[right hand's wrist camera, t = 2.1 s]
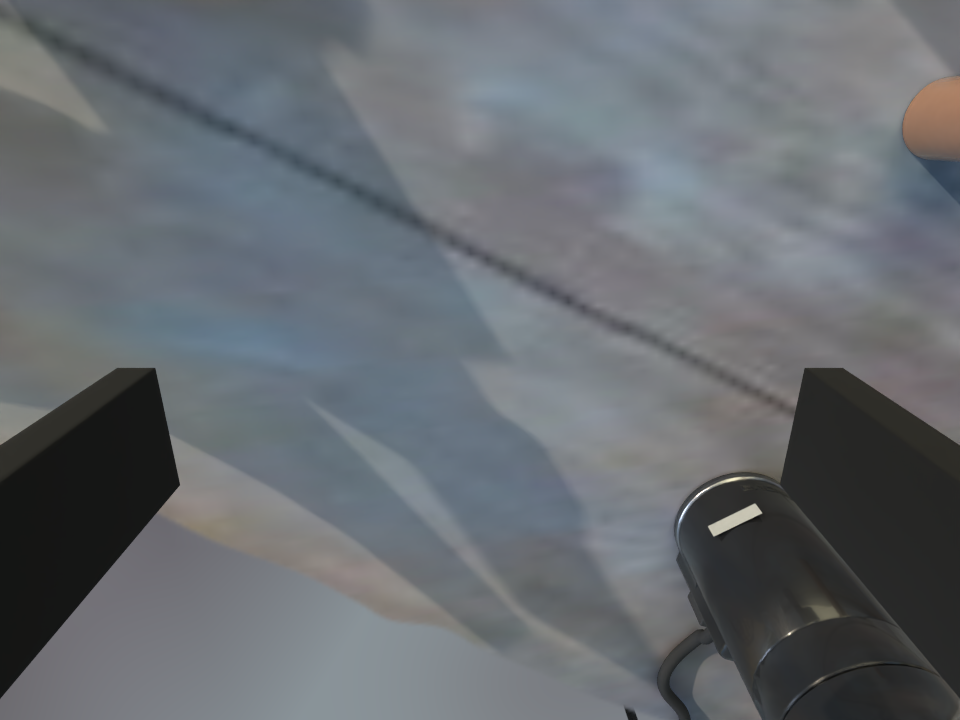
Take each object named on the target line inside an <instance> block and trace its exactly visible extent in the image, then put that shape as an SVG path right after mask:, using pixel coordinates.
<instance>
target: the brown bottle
mask: <svg viewBox="0 0 960 720" xmlns="http://www.w3.org/2000/svg"><path fill="white" fill-rule="evenodd" d="M902 131H903V138H904V141H905V144H906V146H907V147H908V149H909V150H910V151H911V152H912V153H913V154H914V155H916V156H917V157H920V158H922V159H926V160H938V161H952V162H960V76H952V77H946V78H942V79H939V80H936V81H934V82H932V83H931V84H929V85H927V86H926V87H925V88H924V89H922V90H921V91H920V92H919V93H918V94H917V95H916V96H915V98H914V99H913V100H912V102H911V103H910V105H909V107H908V109H907V111H906V113H905V116H904V120H903V128H902Z"/></svg>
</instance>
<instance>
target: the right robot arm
mask: <svg viewBox="0 0 960 720" xmlns="http://www.w3.org/2000/svg"><path fill="white" fill-rule="evenodd" d="M179 486H180V483H179V478H178V473H177V468H176V464H175V459H174V454H173V450H172V445H171V440H170V435H169V431H168V426H167V421H166V417H165V412H164V407H163V402H162V398H161V393H160V388H159V384H158V379H157V374H156V369H155V368H117V369H115V370H114V371H112V372H111V373H109V374H108V375H106V376H105V377H103V378H102V379H100V380H99V381H97V382H95V383H94V384H92V385H91V386H89V387H88V388H86V389H85V390H83V391H82V392H80V393H79V394H77V395H76V396H74V397H73V398H71V399H70V400H68V401H67V402H65V403H64V404H62V405H61V406H59V407H58V408H56V409H55V410H53V411H52V412H50V413H49V414H47V415H46V416H44V417H42V418H41V419H39V420H38V421H36V422H35V423H33V424H32V425H30V426H29V427H27V428H26V429H24V430H23V431H21V432H20V433H18V434H17V435H15V436H14V437H12V438H11V439H9V440H8V441H6V442H5V443H3V444H2V445H0V698H1V697H2V696H3V695H4V693H5V692H6V691H7V690H8V689H9V688H10V686H11V685H12V684H13V683H14V682H15V680H16V679H17V678H18V677H19V676H20V675H21V673H22V672H23V671H24V670H25V669H26V667H27V666H28V665H29V664H30V663H31V661H32V660H33V659H34V658H35V657H36V655H37V654H38V653H39V652H40V651H41V650H42V648H43V647H44V646H45V645H46V644H47V642H48V641H49V640H50V639H51V638H52V636H53V635H54V634H55V633H56V632H57V631H58V629H59V628H60V627H61V626H62V625H63V623H64V622H65V621H66V620H67V619H68V617H69V616H70V615H71V614H72V613H73V612H74V610H75V609H76V608H77V607H78V606H79V604H80V603H81V602H82V601H83V600H84V598H85V597H86V596H87V595H88V594H89V593H90V591H91V590H92V589H93V588H94V587H95V585H96V584H97V583H98V582H99V581H100V579H101V578H102V577H103V576H104V575H105V574H106V572H107V571H108V570H109V569H110V568H111V566H112V565H113V564H114V563H115V562H116V560H117V559H118V558H119V557H120V556H121V554H122V553H123V552H124V551H125V550H126V549H127V547H128V546H129V545H130V544H131V543H132V541H133V540H134V539H135V538H136V537H137V535H138V534H139V533H140V532H141V531H142V530H143V528H144V527H145V526H146V525H147V524H148V522H149V521H150V520H151V519H152V518H153V516H154V515H155V514H156V513H157V512H158V511H159V509H160V508H161V507H162V506H163V505H164V503H165V502H166V501H167V500H168V499H169V497H170V496H171V495H172V494H173V493H174V492H175V490H176V489H177V488H178V487H179ZM780 486H781V487H782V488H783V489H784V490H785V492H786V493H787V494H788V495H789V496H790V497H791V499H792V500H793V501H794V502H795V503H796V505H797V506H798V507H799V508H800V509H801V511H802V512H803V513H804V514H805V515H806V516H807V518H808V519H809V520H810V521H811V522H812V524H813V525H814V526H815V527H816V528H817V530H818V531H819V532H820V533H821V534H822V535H823V537H824V538H825V539H826V540H827V541H828V543H829V544H830V545H831V546H832V547H833V549H834V550H835V551H836V552H837V553H838V554H839V556H840V557H841V558H842V559H843V560H844V562H845V563H846V564H847V565H848V566H849V568H850V569H851V570H852V571H853V572H854V574H855V575H856V576H857V577H858V578H859V579H860V581H861V582H862V583H863V584H864V585H865V587H866V588H867V589H868V590H869V591H870V593H871V594H872V595H873V596H874V597H875V598H876V600H877V601H878V602H879V603H880V604H881V606H882V607H883V608H884V609H885V610H886V612H887V613H888V614H889V615H890V616H891V617H892V619H893V620H894V621H895V622H896V623H897V625H898V626H899V627H900V628H901V629H902V631H903V632H904V633H905V634H906V635H907V636H908V638H909V639H910V640H911V641H912V642H913V644H914V645H915V646H916V647H917V648H918V650H919V651H920V652H921V653H922V654H923V655H924V657H925V658H926V659H927V660H928V661H929V663H930V664H931V665H932V666H933V667H934V669H935V670H936V671H937V672H938V673H939V675H940V676H941V677H942V678H943V679H944V680H945V682H946V683H947V684H948V685H949V686H950V688H951V689H952V690H953V691H954V692H955V694H956V695H957V696H958V697H959V698H960V445H958V444H957V443H955V442H954V441H952V440H951V439H949V438H948V437H946V436H945V435H943V434H942V433H940V432H939V431H937V430H936V429H934V428H933V427H931V426H930V425H928V424H927V423H925V422H924V421H922V420H921V419H919V418H918V417H916V416H914V415H913V414H911V413H910V412H908V411H907V410H905V409H904V408H902V407H901V406H899V405H898V404H896V403H895V402H893V401H892V400H890V399H889V398H887V397H886V396H884V395H883V394H881V393H880V392H878V391H877V390H875V389H874V388H872V387H871V386H869V385H868V384H866V383H865V382H863V381H861V380H860V379H858V378H857V377H855V376H854V375H852V374H851V373H849V372H848V371H846V370H845V369H843V368H805V369H804V374H803V379H802V384H801V388H800V393H799V398H798V402H797V407H796V412H795V417H794V421H793V426H792V431H791V435H790V440H789V445H788V450H787V454H786V459H785V464H784V468H783V473H782V478H781V483H780Z"/></svg>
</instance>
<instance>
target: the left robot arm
mask: <svg viewBox="0 0 960 720" xmlns="http://www.w3.org/2000/svg"><path fill="white" fill-rule="evenodd" d="M674 535H675V540H676V543H677V546H678V548H679V550H680V552H679V555H678V557H677V559H676V561H677V563H678V565H679V567H680V569H681V572H682V574H683V576H684V578H685V580H686V583H687V585H688V587H689V589H690V593H689V595H688V599H689V601H690V603H691V606H692V608H693V610H694V612H695V615H696V617H697V619H698V621H699V624H700V625H701V626H705V627H707V628H706V629H705V630H703V629H701V630H696V631H695V632H694V633H692V634H691V635H690V636H689V637H687V638H686V639H685V640H684V641H682V642H681V643H680V644H679V645H678V646H677V647H676V648H675V649H674V650H673V651H672V652H671V653H670V654H669V655H668V657H667V658H666V659H665V661H664V663H663V664H662V666H661V668H660V671H659V674H658V679H657V684H658V688H659V691H660V693H661V695H662V697H663V698H664V700H665V701H666V702H667V703H668V704H669V705H670V706H671V707H672V708H673V709H674V711H675V712H676V713H677V715H678V716H679V720H691V719H690V715H689V712H688V710H687V708H686V707H685V705H684V704H683V703H682V701H681V700H680V699H679V698H678V697H677V696H676V695H675V694H674V693H673V691H672V690H671V688H670V686H669V680H670V676H671V674H672V672H673V670H674V669H675V667H676V666H677V665H678V664H679V662H680V661H681V660H682V659H683V658H684V657H685V656H687V655H688V654H689V653H690V652H691V651H692V650H694V649H695V648H696V647H698V646H699V645H700V644H702V643H703V644H710V643H711V642H714V644H715V646H716V648H717V651H718V653H719V654H720V655H721V656H722V657H723V658H724V659H727V660H731V661H734V662H735V664H736V666H737V669H738V671H739V673H740V675H741V677H742V679H743V681H744V683H745V685H746V687H747V690H748V692H749V694H750V696H751V698H752V700H753V702H754V704H755V706H756V708H757V710H758V712H759V714H760V716H761V718H762V720H960V698H959V697H958V696H957V695H956V694H955V692H954V691H953V690H952V689H951V688H950V686H949V685H948V684H947V683H946V682H945V680H944V679H943V678H942V677H941V676H940V675H939V673H938V672H937V671H936V670H935V669H934V667H933V666H932V665H931V664H930V663H929V661H928V660H927V659H926V658H925V657H924V655H923V654H922V653H921V652H920V651H919V650H918V648H917V647H916V646H915V645H914V644H913V642H912V641H911V640H910V639H909V638H908V636H907V635H906V634H905V633H904V632H903V631H902V629H901V628H900V627H899V626H898V625H897V623H896V622H895V621H894V620H893V619H892V617H891V616H890V615H889V614H888V613H887V612H886V610H885V609H884V608H883V607H882V606H881V604H880V603H879V602H878V601H877V600H876V598H875V597H874V596H873V595H872V594H871V593H870V591H869V590H868V589H867V588H866V587H865V585H864V584H863V583H862V582H861V581H860V579H859V578H858V577H857V576H856V575H855V574H854V572H853V571H852V570H851V569H850V568H849V566H848V565H847V564H846V563H845V562H844V560H843V559H842V558H841V557H840V556H839V554H838V553H837V552H836V551H835V550H834V549H833V547H832V546H831V545H830V544H829V543H828V541H827V540H826V539H825V538H824V537H823V535H822V534H821V533H820V532H819V531H818V530H817V528H816V527H815V526H814V525H813V524H812V522H811V521H810V520H809V519H808V518H807V516H806V515H805V514H804V513H803V512H802V511H801V509H800V508H799V507H798V506H797V505H796V503H795V502H794V501H793V500H792V499H791V497H790V496H789V495H788V494H787V493H786V492H785V490H784V489H783V488H782V487H781V486H780V483H779V482H777V481H776V480H774V479H772V478H770V477H768V476H765V475H761V474H757V473H747V472H742V473H732V474H727V475H723V476H720V477H717V478H715V479H712V480H710V481H708V482H706V483H705V484H703V485H702V486H700V487H699V488H697V489H696V490H695V491H694V492H693V493H692V494H691V495H690V496H689V497H688V498H687V499H686V500H685V501H684V503H683V504H682V506H681V508H680V510H679V512H678V514H677V517H676V520H675V526H674ZM624 709H625V712H626V715H627V718H628V720H638V718H637V716H636V713H635V711H634V710H631V709H629V708H625V707H624Z"/></svg>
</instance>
